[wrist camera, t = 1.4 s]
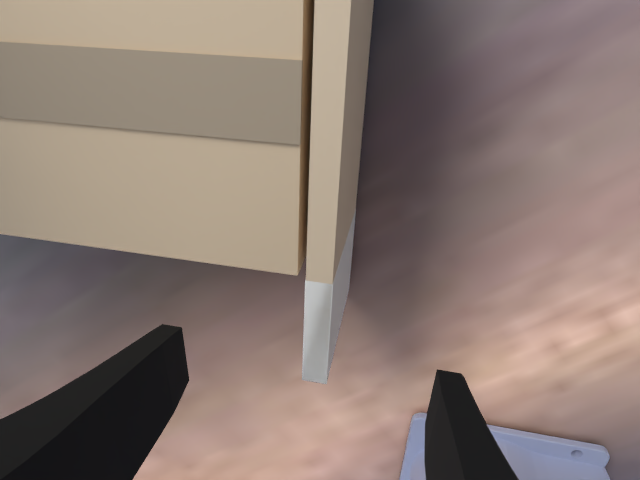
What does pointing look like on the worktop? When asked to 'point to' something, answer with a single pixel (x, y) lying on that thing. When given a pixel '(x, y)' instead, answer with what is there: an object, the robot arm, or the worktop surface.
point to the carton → (159, 127)
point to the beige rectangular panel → (333, 171)
